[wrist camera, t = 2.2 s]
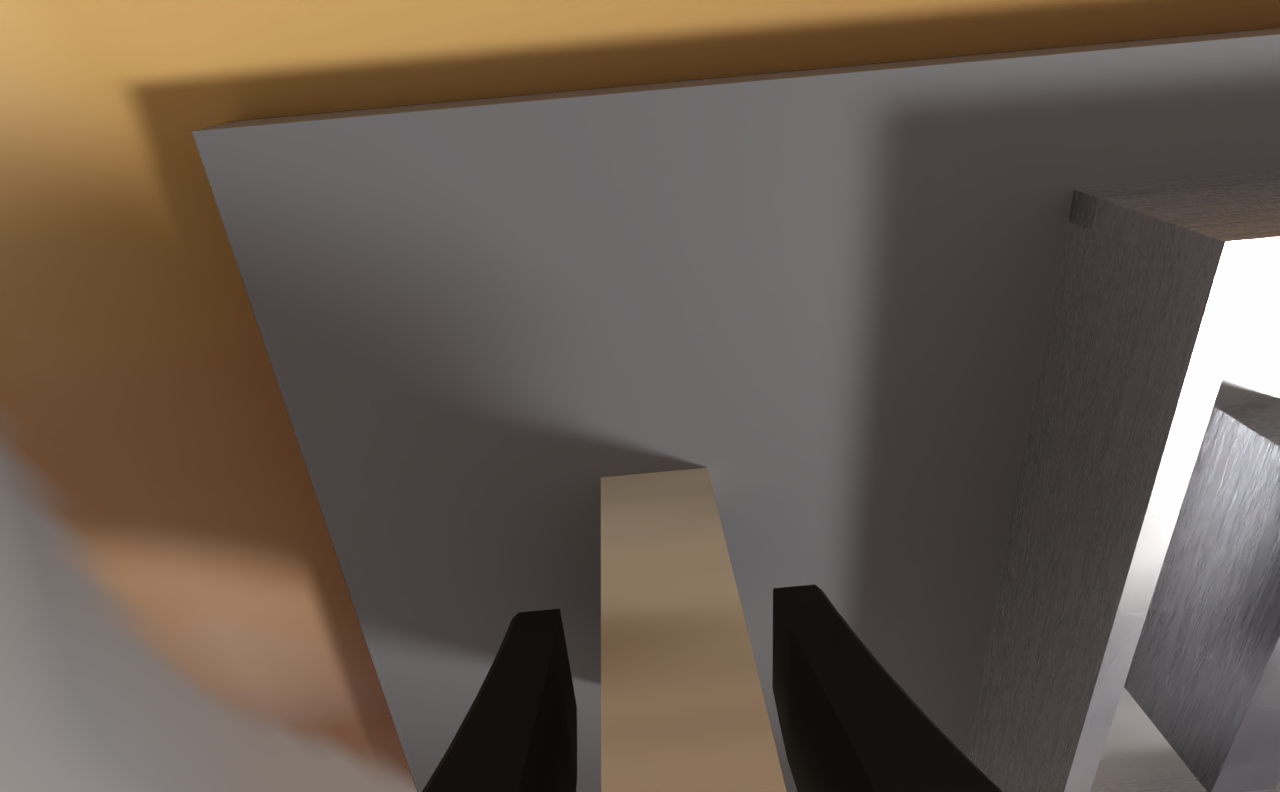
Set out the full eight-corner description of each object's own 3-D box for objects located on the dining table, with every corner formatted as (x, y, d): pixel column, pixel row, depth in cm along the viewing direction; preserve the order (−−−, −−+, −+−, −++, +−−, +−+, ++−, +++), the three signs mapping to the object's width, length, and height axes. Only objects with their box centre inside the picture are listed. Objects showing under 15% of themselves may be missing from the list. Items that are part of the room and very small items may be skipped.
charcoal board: (1348, 751, 16) (1392, 793, 15) (457, 837, 16) (449, 885, 15) (1770, -17, 9) (1890, -21, 9) (231, 121, 9) (191, 132, 8)
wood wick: (716, 680, 13) (798, 1144, 8) (627, 689, 13) (645, 1159, 8) (707, 467, 11) (813, 897, 5) (601, 477, 11) (601, 917, 5)
